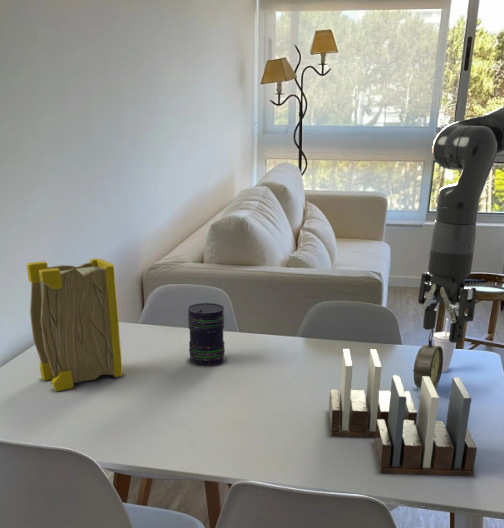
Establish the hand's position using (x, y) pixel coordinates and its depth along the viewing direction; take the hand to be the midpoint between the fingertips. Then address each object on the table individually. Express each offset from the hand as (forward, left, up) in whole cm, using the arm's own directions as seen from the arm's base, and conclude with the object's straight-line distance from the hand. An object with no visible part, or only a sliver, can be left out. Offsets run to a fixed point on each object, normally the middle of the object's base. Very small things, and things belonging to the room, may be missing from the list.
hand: (441, 335), depth 132 cm
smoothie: (-13, -53, -26) cm, 61 cm away
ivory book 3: (+1, 0, -25) cm, 25 cm away
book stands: (+5, -8, -26) cm, 28 cm away
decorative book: (+82, -40, -26) cm, 95 cm away
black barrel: (+51, -56, -26) cm, 80 cm away
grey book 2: (-5, 0, -25) cm, 26 cm away
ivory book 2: (+10, -16, -25) cm, 31 cm away
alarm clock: (-6, -37, -26) cm, 46 cm away
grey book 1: (+7, 0, -25) cm, 26 cm away
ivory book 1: (+16, -16, -25) cm, 34 cm away
